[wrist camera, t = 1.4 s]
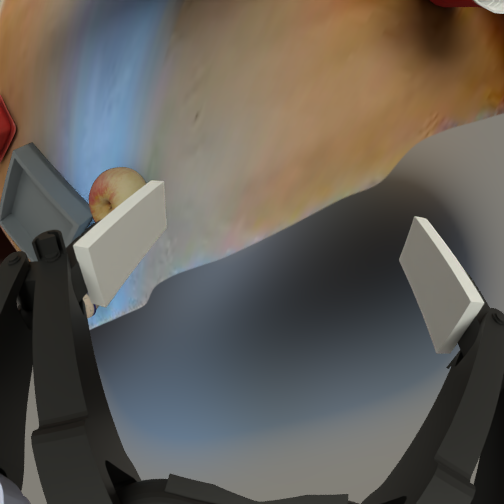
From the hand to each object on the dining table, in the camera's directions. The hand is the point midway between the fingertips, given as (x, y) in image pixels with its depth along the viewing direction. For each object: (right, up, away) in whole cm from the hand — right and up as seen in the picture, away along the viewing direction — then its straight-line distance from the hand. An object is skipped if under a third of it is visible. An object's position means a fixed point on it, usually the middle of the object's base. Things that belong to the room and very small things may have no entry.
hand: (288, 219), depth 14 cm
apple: (-20, +8, +26) cm, 33 cm away
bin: (-42, +6, +30) cm, 52 cm away
